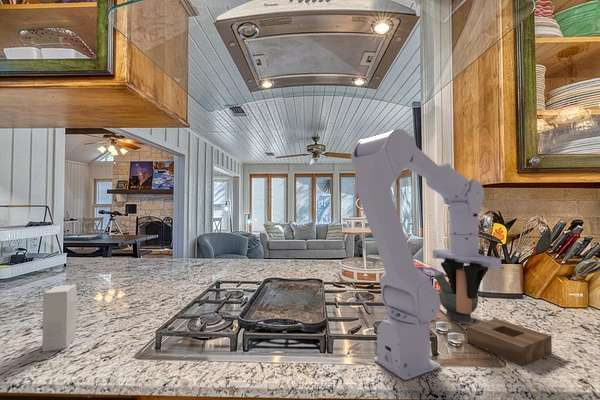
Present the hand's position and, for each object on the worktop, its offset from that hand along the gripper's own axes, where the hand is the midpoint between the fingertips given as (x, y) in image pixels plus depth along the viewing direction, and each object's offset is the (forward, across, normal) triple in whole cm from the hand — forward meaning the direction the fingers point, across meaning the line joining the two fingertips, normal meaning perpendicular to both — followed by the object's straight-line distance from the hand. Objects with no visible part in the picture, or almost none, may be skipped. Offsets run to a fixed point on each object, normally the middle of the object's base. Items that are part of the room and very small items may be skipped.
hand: (464, 295), depth 66 cm
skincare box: (+10, +40, +78) cm, 88 cm away
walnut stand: (+10, -5, -7) cm, 14 cm away
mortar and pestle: (+11, +12, -14) cm, 21 cm away
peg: (+3, 0, 0) cm, 3 cm away
